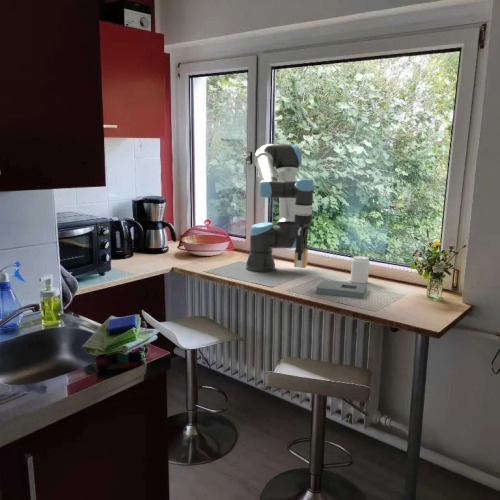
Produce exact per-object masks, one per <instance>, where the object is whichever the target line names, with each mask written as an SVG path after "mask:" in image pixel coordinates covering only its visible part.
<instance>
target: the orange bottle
mask: <svg viewBox="0 0 500 500" xmlns="http://www.w3.org/2000/svg"><path fill="white" fill-rule="evenodd" d="M295 251H296V248H294V260H293V267H294V268H297V267H296V261H297V253H295ZM308 251H309V248H304V244H303V267H299V268H301V269H306V268H307V267H308V257H309V256H308V255H309V253H308Z"/></svg>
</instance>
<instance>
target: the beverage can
mask: <svg viewBox="0 0 500 500" xmlns="http://www.w3.org/2000/svg"><path fill="white" fill-rule="evenodd" d="M369 259H370V258H369V257H367V256H364V255H353V256H352V259H351V266H350V283H357V284H367V283H368V281H369V274H370V273H369V272H370V260H369Z"/></svg>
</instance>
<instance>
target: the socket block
mask: <svg viewBox="0 0 500 500" xmlns="http://www.w3.org/2000/svg"><path fill="white" fill-rule="evenodd" d="M366 290H368V284H367V283H365V284H357V283H353V282H347V281H339V280H337V281H336V280H330V279H329V280H328V279H322V280H321V282H320V283H319V284H318V285H317V286H316V289H315V291H316V294H320V295H321V294H323V295H331V296H337V297H338V296H339V297H346V296H347V297H346V298H348V297H349V298H354V297H356V298H357V299H362V298H363V299H364V297H365V295H366V292H367V291H366ZM356 298H355V299H356Z"/></svg>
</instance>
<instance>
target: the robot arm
mask: <svg viewBox="0 0 500 500" xmlns="http://www.w3.org/2000/svg"><path fill="white" fill-rule="evenodd" d="M302 161H303V159H302V152H301V148H300V147H299V145H297V144H291V143H288V144H284V143H282V144H281V143H268V144H264V145H262V146H261V147H259V148H258V149H257V150H256V151H255V153H254V156H253V162H254V165H255V167H256V168H257V170H258V173H259V177H260V181H259V183H258V195H259V197H260V198H266V199H270V198H271V199H272V198H276V199H279V201H278V202H279V203H278V204H279V206H278V208H279V211H278V213H279V215H278V217H279V220H278V221H277V222H276V225H274V223H273V222H260V223H259V222H258V223H255V224H252V225H251V226H250V230H249V254H248V257H247V260H246V262H245V263H246V264H245V269H246V270H249V271H253V272H272V271H274V270H276V262H275V259H274V256H273V249H296V251H295V250H294V254H295V253H297V261H296V267H295V268H300V267H303V244H304V248H306V249H308V235H309V226H308V225H310V224H312V217H313V216H312V214H313V210H314V207H313V200H314V199H313V197H314V189H315V187H314V186H315V185H314V180H313V179H312V178H297V179H296V173H297V172H299V168H301V166H302ZM276 172H277V173H278V177H277V174H276Z"/></svg>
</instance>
